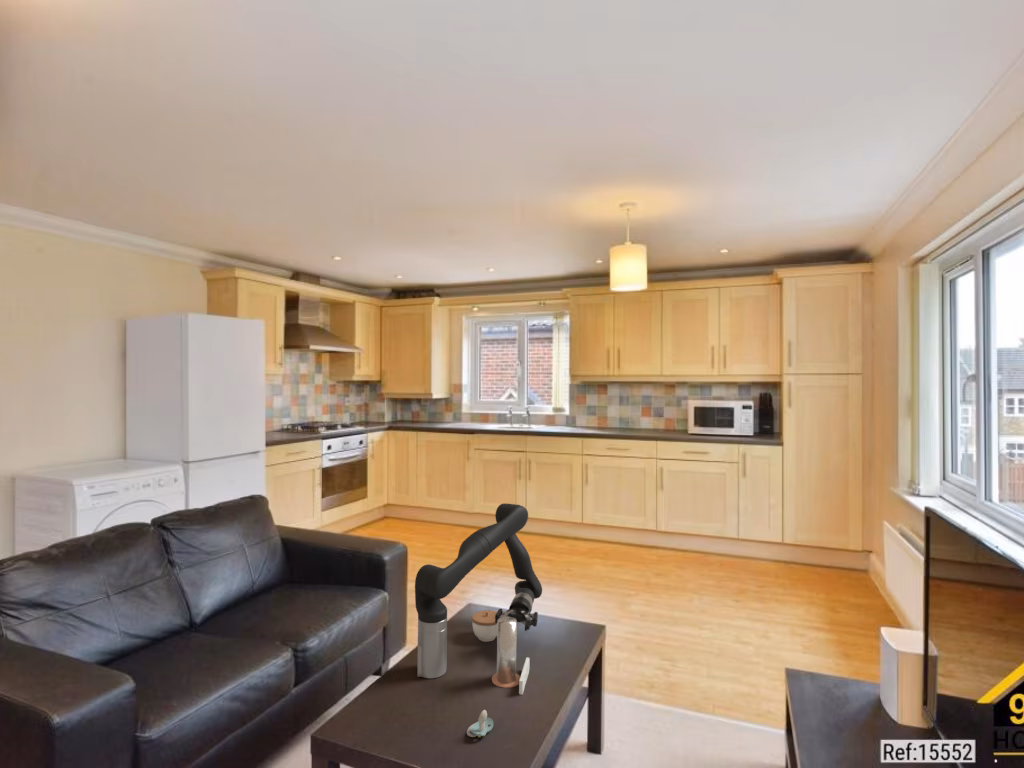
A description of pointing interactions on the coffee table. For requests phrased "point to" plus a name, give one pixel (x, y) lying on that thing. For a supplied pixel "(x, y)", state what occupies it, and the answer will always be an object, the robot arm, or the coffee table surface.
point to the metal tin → (506, 649)
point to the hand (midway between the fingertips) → (513, 627)
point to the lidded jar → (485, 625)
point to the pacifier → (481, 726)
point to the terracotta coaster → (497, 683)
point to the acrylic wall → (524, 676)
